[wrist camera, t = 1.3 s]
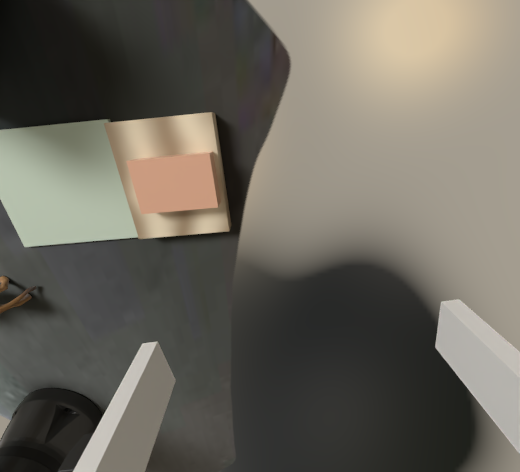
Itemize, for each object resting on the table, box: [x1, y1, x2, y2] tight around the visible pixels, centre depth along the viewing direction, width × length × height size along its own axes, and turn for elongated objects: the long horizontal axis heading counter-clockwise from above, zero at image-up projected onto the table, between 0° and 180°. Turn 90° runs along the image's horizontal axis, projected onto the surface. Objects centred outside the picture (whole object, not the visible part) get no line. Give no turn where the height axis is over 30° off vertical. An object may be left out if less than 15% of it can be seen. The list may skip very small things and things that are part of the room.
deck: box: [104, 112, 231, 239], centre depth 31 cm, size 12×14×2 cm
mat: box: [0, 119, 138, 247], centre depth 33 cm, size 17×15×1 cm
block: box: [126, 151, 221, 214], centre depth 29 cm, size 9×6×2 cm, turn 95°
